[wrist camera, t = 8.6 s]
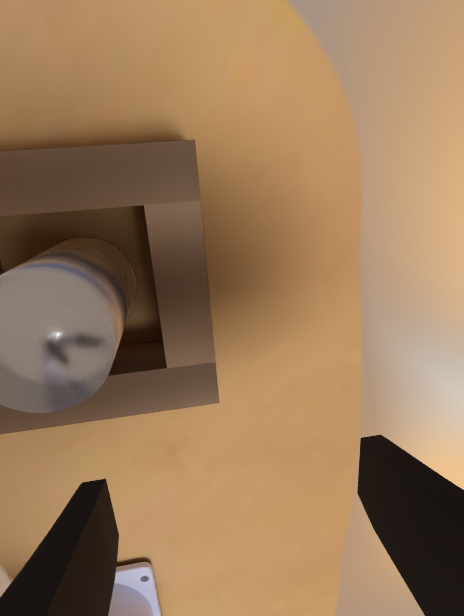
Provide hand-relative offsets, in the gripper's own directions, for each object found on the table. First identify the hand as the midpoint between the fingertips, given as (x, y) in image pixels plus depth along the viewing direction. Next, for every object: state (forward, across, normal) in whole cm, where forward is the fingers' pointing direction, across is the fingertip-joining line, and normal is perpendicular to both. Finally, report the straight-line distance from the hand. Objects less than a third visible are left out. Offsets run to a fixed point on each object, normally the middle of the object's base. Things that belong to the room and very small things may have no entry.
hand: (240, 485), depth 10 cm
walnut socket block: (+9, +6, -4) cm, 12 cm away
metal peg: (+9, +5, -4) cm, 12 cm away
